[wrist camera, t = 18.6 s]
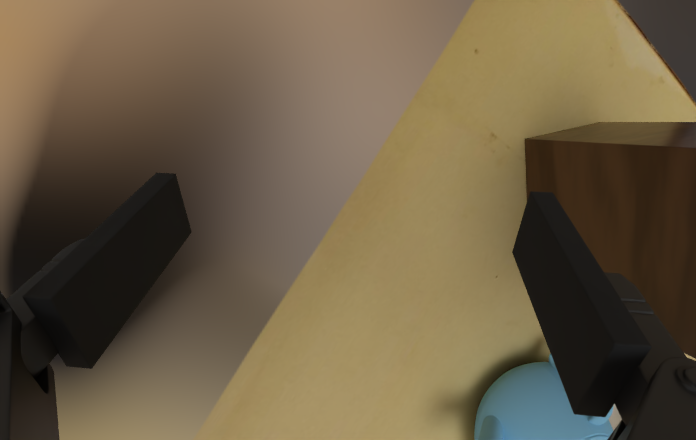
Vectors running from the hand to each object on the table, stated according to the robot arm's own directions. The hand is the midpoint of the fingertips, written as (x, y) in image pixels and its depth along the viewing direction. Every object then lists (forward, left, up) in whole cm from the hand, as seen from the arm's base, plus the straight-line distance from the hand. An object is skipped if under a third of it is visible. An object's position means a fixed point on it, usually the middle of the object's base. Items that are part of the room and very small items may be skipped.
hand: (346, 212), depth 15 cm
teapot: (+23, +34, -21) cm, 46 cm away
